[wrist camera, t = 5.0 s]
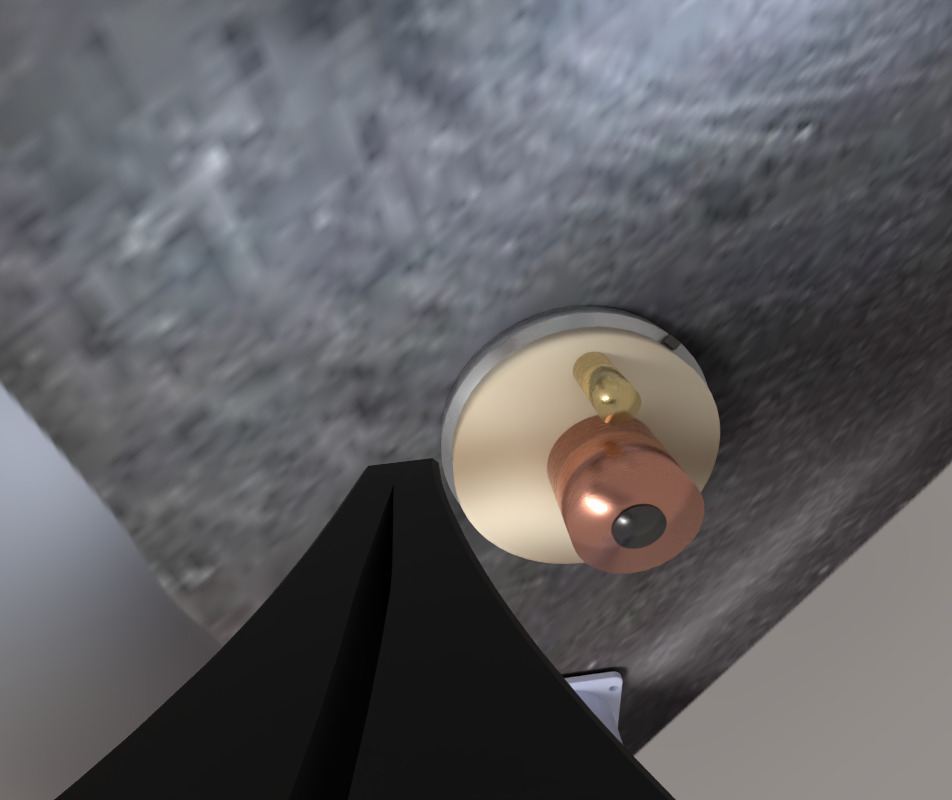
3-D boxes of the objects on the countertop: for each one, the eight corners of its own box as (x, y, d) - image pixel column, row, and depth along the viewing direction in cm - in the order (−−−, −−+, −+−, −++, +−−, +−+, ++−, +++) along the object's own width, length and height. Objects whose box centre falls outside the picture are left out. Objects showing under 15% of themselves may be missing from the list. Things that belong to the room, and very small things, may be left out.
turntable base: (681, 515, 21) (692, 531, 20) (455, 544, 21) (456, 562, 20) (717, 290, 16) (734, 298, 15) (423, 322, 16) (423, 332, 15)
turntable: (685, 526, 20) (735, 599, 17) (464, 554, 20) (471, 634, 16) (721, 311, 15) (799, 352, 12) (437, 343, 15) (439, 393, 12)
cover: (653, 497, 17) (699, 566, 14) (549, 513, 17) (573, 585, 14) (661, 405, 16) (715, 463, 13) (544, 422, 15) (570, 484, 12)
